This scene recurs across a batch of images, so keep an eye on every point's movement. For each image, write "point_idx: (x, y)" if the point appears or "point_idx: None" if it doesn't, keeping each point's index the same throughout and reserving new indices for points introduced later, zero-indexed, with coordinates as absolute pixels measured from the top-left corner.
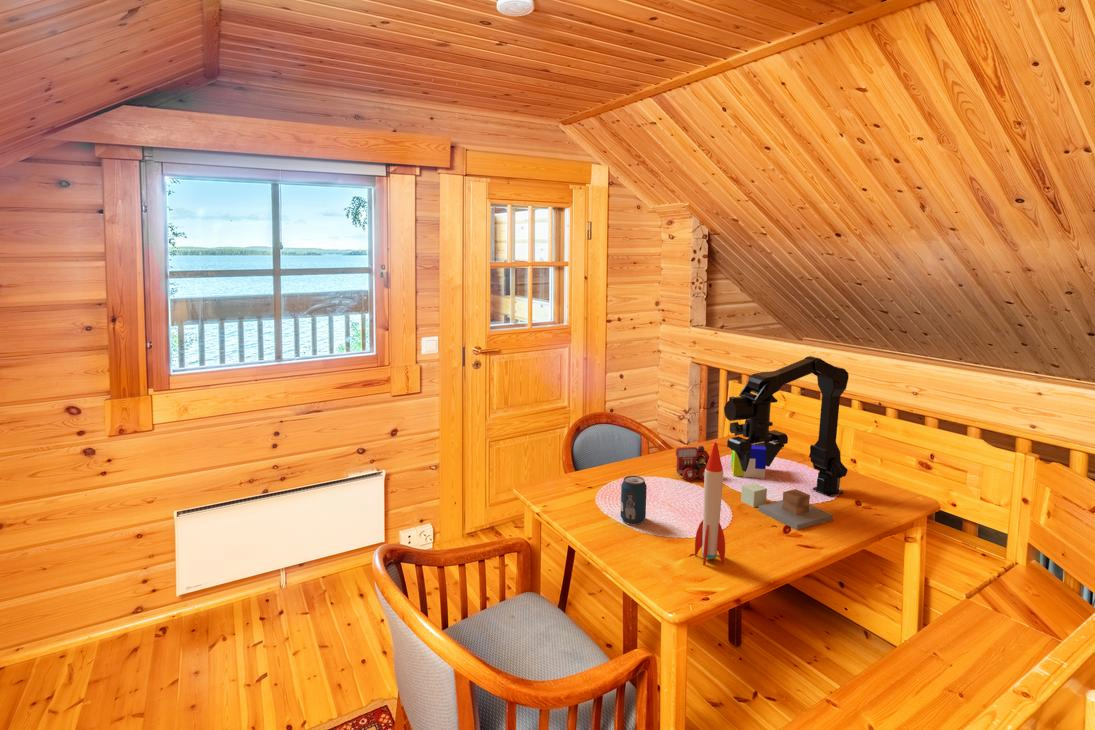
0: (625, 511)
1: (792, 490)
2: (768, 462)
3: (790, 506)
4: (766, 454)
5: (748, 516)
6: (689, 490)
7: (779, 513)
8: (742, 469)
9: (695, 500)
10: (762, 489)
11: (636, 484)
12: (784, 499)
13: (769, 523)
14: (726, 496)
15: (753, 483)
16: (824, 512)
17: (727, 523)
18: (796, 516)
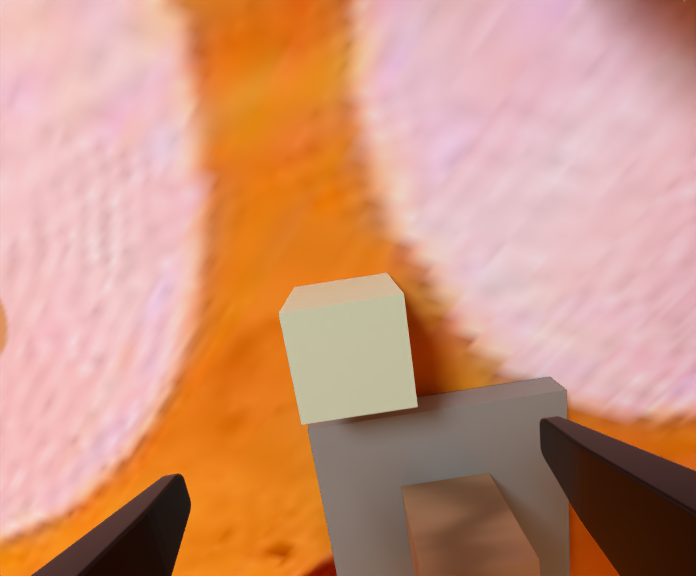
0: None
1: (498, 573)
2: (576, 492)
3: (413, 557)
4: (688, 530)
5: (225, 451)
6: (55, 25)
7: (349, 526)
8: (154, 489)
9: (34, 195)
10: (377, 411)
11: None
12: (413, 545)
13: (276, 529)
14: (250, 200)
15: (388, 301)
16: (555, 567)
17: (88, 484)
18: (403, 568)
